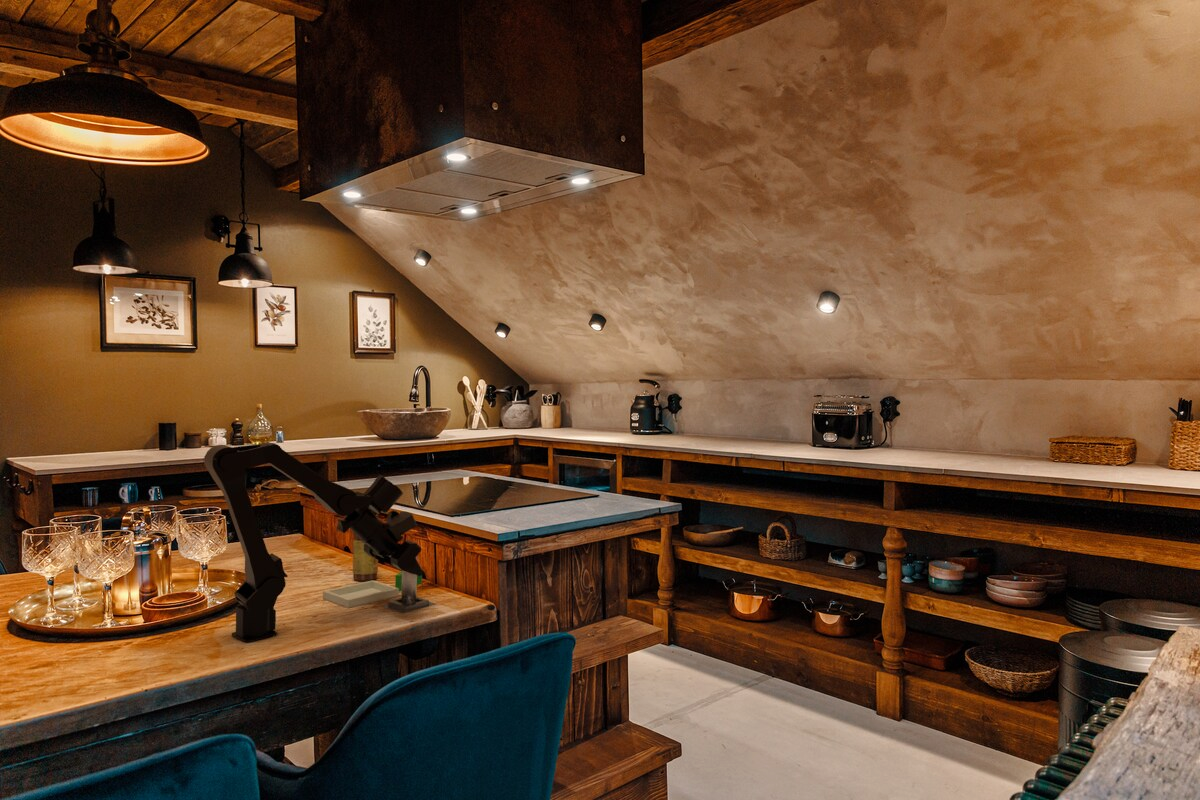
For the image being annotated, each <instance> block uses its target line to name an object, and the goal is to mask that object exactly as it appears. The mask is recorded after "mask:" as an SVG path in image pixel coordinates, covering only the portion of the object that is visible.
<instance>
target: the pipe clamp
mask: <svg viewBox="0 0 1200 800" xmlns="http://www.w3.org/2000/svg"><path fill="white" fill-rule="evenodd" d="M421 569H422V570H423V567H421ZM394 580H395V582H394V583H395V586H394V587H396V588H399V593H400V592H401V589H402V571H400V572H398V573H397V574H395V579H394ZM422 584H423V574H422V575H421V576H418V575H417V585H422Z"/></svg>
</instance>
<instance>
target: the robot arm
mask: <svg viewBox="0 0 1200 800" xmlns="http://www.w3.org/2000/svg"><path fill="white" fill-rule="evenodd" d="M203 461H204V465H205V467H206V469H207V471H208V473H209V475H210V476H211V478H212V479H213V481H214V482H215V483H216V485H217V487H218V488H219V489H220V491H221V493H222V494H223V497H224V500H225V503H226V506H227V508H228V512H229V515H230V518H231V521H232V523H233V525H234V528H235V532H236V534H237V537H238V541H239V543H240V546H241V549H242V552H243V555H244V576H245V581H243V583H241V585H240V586H238V587H237V589H236V590H235V591H234V593H233V594H234V599H236V602H237V603H239V604H240V605H237V606H236V607H235V631H234V632H231V636H232V637H234V638H236V639H238V640H240V641H242V642H244V643H251V642H255V641H259V640H262V639H266V637H267V638H270V637H269V636H271V637H274V636H273V635H275V636H277V635H278V632H277V631H276V628H277V627H276V625H277V624H276V623H277V622H276V621H277V617H276V616H277V609H275V608H274V607H275V605H276V603H277V600H278V597H279V596H280V595H281V594H282V593H283V592H284V589H285V588H286V585H287V584H286V583H287V582H286V578H288V574H287V573H286V572H285V570H284V564H283V561H282V558H281V557H279V556H278V555H276V554H274V553H273V552H272V553H269V551H268V548H267V547H266V546H267V545H266V543H265V540H264V537H263V534H262V532H261V529H260V524H259V523H258V519H257V515H256V513H255V511H254V508H253V505H252V502H251V499H250V495H249V493H248V490H247V469H253V468H257V467H260V466H263V465H269V466H271V467H272V468H274V470H275V469H276V470H277V471H278V472H280V473H282V474H283V475H285V476H286V477H287V478H289V479H290V480H292V481H293V482H295V483H296V484H297V485H299V486H301V487H302V488H304V489H305V490H307V491H308V492H309V493H310V494H311V495H312V496H313V497H314V498H315V499H316V501H317V502H318V503H319V504H320V505H321V506H322V507H323V508H325V510H327V511H329V512H331V513H332V514H333V513H334V514H336V515H337V516H338V515H339V516H342V517H343V518H338V519H337V520H336V521H337V525H336V531H338V532H341V533H343V534H345V533H347V531H349V530H351V531H352V532H353V534H354V533H355V534H356V535H357V536H358V537H359V538H360V539H361V540H360V541H361V542H362V543H364V552H366V553H367V554H368V555H369V556H371V557H373V558H374V556H375V554H376V556H375V559H377V560H378V562H379V561H380V562H383V563H385V564H388V565H390V566H394V568H395V569H398V570H399V571H401V572H402V571H405V572H408V573H412V574H415V575H418V576H421V575H422V576H423V575H424V571H423V568H422V567H421V565H420V564H419V561H418V559H417V560H416V557H417V558H418V556H417V555H420V553H421V552H422V550H423V549H422V547H421V546H419V545H418V544H419V543H418V542H414V541H412V540H404V541H403V542H402V543H399V542H401V541H402V540H403V539H404V536H403V535H405V534H406V533H407V532H409V531H411V530H412V529H415V528H416V527H418V524H417V522H416V519H415V518H414V514H413V513H412V512H408V511H400V512H398V511H397V510H394V509H392V507H393V506H394V505H395V504H396V503H397V501H398V500H399V499H400V498H401V497H402V496H403V495H404V493H403V491H402V489H401V488H399V486H397V485H395V483H393V482H391V481H389V480H388V479H387V478H386V477H385V476H384V475H378V476H377V477H376V478H375V479H374V481H373V483H372V484H371V485H370V486H369V487H368V488H367V489H366V490H365V491H364V492H360V491H354V490H352V489H349V488H348V487H345V486H344V485H341V484H338V483H336V482H333V481H331V480H329V479H326V478H325V477H323V476H322V475H320V474H319V473H317V471H314V470H313V469H312V468H310V467H308V466H307V465H306V464H304V463H303V462H301V461H300V460H298V459H297V458H295V457H294V456H292V455H291V454H290V453H289V452H287V451H286V450H284V449H283V448H282V447H281V446H280V445H279V444H277V443H273V442H270V441H265V442H262V443H259V444H249V445H239V446H233V447H232V446H229V445H223V444H218V445H214V446H211V447H210V448H209V449H208V450H207V452H206V453H205V455H204V457H203ZM368 507H370V508H371V509H372V510H373V511H374V513H373V512H372V511H371V510H369V509H368ZM390 509H391V510H390ZM381 513H383V514H387V518H386V522H384V521H382V520H381V519H380V518H379V517H378V516H377V514H378V515H379V514H381ZM417 543H418V544H417ZM421 568H422V569H421ZM276 634H277V635H276Z"/></svg>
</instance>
